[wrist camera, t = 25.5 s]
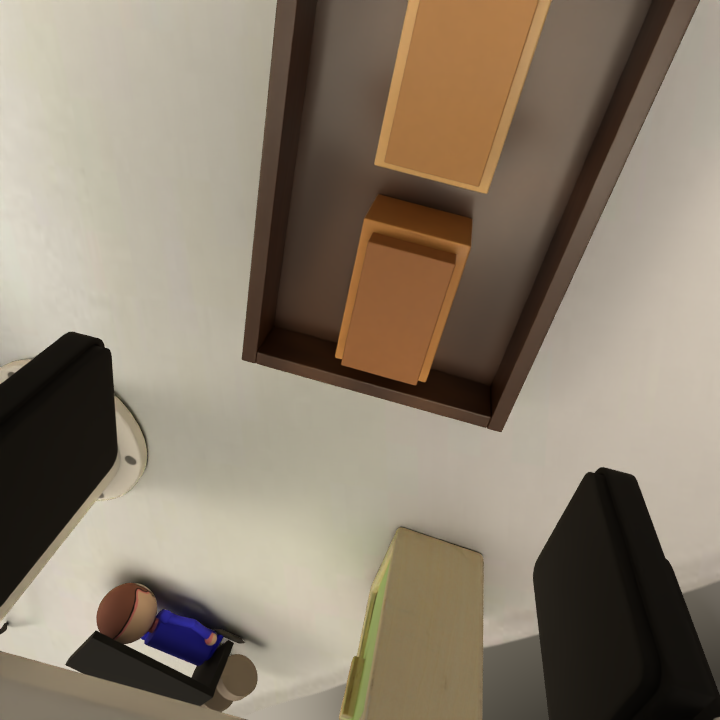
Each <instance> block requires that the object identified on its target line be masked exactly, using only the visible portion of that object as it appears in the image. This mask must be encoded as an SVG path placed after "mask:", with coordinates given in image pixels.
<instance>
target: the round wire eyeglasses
mask: <svg viewBox="0 0 720 720" xmlns="http://www.w3.org/2000/svg"><path fill="white" fill-rule="evenodd" d="M6 629H7V623H4V625H3V627H2V628H1V629H0V634H2V633H3V632H4V631H6Z"/></svg>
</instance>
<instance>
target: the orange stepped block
mask: <svg viewBox="0 0 720 720" xmlns="http://www.w3.org/2000/svg"><path fill="white" fill-rule="evenodd" d="M472 221H473V220H472V219H471V218H467V217H464V216H460V215H456V214H452V213H448V212H444V211H441V210H437V209H433V208H429V207H425V206H422V205H418V204H414V203H410V202H406V201H403V200H399V199H395V198H391V197H387V196H383V195H380V194H378V195H377V197H376V199H375V200H374V202H373V204H372V206H371V207H370V209H369V211H368V213H367V215H366V216H365V218H364V221H363V226H362V231H361V235H360V240H359V245H358V249H357V254H356V259H355V264H354V268H353V273H352V278H351V282H350V287H349V292H348V297H347V301H346V306H345V311H344V315H343V320H342V325H341V329H340V334H339V339H338V344H337V348H336V353H335V357H336V358H339V359H342V361H341V365H343V366H347V367H350V368H354V369H358V370H361V371H365V372H368V373H372V374H376V375H379V376H383V377H386V378H390V379H394V380H397V381H401V382H404V383H408V384H412V385H417V382H418V381H421V382H426V381H427V378H428V375H429V372H430V369H431V366H432V363H433V360H434V357H435V354H436V351H437V348H438V345H439V342H440V339H441V336H442V333H443V330H444V327H445V324H446V321H447V318H448V315H449V312H450V309H451V306H452V303H453V300H454V297H455V294H456V291H457V288H458V285H459V282H460V279H461V276H462V273H463V270H464V267H465V264H466V261H467V258H468V255H469V252H470V249H471V241H472Z"/></svg>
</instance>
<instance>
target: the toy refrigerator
mask: <svg viewBox="0 0 720 720" xmlns="http://www.w3.org/2000/svg"><path fill="white" fill-rule="evenodd" d="M483 570H484V562H483V557H482V555H481V554H479V553H477V552H474V551H471V550H468V549H465V548H462V547H459V546H456V545H453V544H450V543H447V542H445V541H442V540H438V539H435V538H433V537H429V536H426V535H423V534H421V533H418V532H415V531H412V530H409V529H406V528H402V527H400V528H398V529H397V531H396V533H395V535H394V538H393V540H392V542H391V544H390V546H389V549H388V551H387V553H386V555H385V557H384V560H383V562H382V564H381V566H380V569H379V571H378V573H377V575H376V577H375V579H374V582H373V584H372V586H371V590H370V594H369V599H368V604H367V608H366V614H365V619H364V624H363V629H362V634H361V639H360V644H359V648H358V653H357V656H354V657H353V660H352V662H351V667H350V671H349V675H348V680H347V685H346V689H345V694H344V698H343V702H342V707H341V711H340V716H339V720H482V698H483V580H484V573H483Z"/></svg>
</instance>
